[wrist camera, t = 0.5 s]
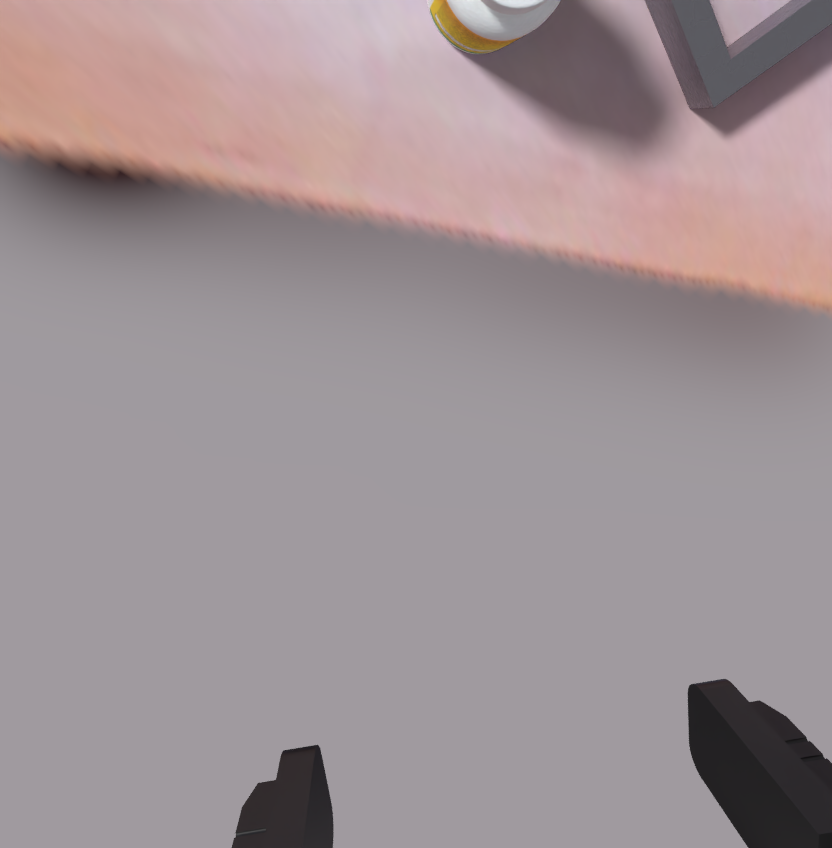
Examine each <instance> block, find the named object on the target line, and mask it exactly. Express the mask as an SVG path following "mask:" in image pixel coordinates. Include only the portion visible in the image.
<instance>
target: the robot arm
mask: <svg viewBox="0 0 832 848" xmlns="http://www.w3.org/2000/svg"><path fill="white" fill-rule="evenodd" d="M688 717H689V744H690V745H689V746H690V751H691V755H692V758H693V761H694V764H695V766H696V769H697V771H698V773H699V775H700V776H701V778H702V779H703V781H704V782H705V784H706V785H707V787H708V788H709V790H710V791H711V793H712V794H713V796H714V797H715V799H716V800H717V802H718V803H719V805H720V806H721V808H722V809H723V811H724V812H725V814H726V815H727V817H728V818H729V820H730V821H731V823H732V824H733V826H734V827H735V829H736V830H737V831H738V833H739V834H740V836H741V837H742V839H743V840H744V842H745V843H746V845H747V846H748V848H832V763H831V762H830V761H829V760H828V759H825V758H824V757H823V754H822V753H821V752H820V751H819V750H818V749H817V748H816V747H815V746H814V745H813V744H812V743H811V742H810V741H809V742H808V741H807V739H806V736H805V735H804V734H803V733H802V732H801V731H800V730H799V729H798V728H797V727H796V726H795V725H794V724H793V723H792V722H791V721H790V720H789V719H788V718H787V717H786V716H784V715H783V714H781V713H779V712H778V711H776V710H775V709H773V708H771V707H769V706H768V705H766V704H765V703H763V702H761V701H755V702H748V700H747V699H746V698H745V697H744V696H743V695H742V694H741V693H740V692H739V691H738V690H737V688H736V687H735V686H734V685H733V684H732V683H731V682H730V681H728V680H726V679H721V680H715V681H708V682H703V683H696V684H691V685H690V686H689V688H688ZM232 848H333V812H332V805H331V799H330V795H329V789H328V784H327V779H326V774H325V770H324V764H323V760H322V755H321V750H320V747H319V746H318V745H314V746H308V747H302V748H296V749H290V750H284V751H283V752H282V754H281V758H280V763H279V768H278V773H277V778H276V780H274V781H268V782H262V783H258V784H257V786H256V787H255V789H254V790H253V792H252V793H251V795H250V796H249V798H248V799H247V801H246V802H245V804H244V805H243V807H242V810H241V814H240V818H239V822H238V826H237V830H236V838H234V841H233V845H232Z"/></svg>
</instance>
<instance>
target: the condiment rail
mask: <svg viewBox="0 0 832 848" xmlns="http://www.w3.org/2000/svg"><path fill="white" fill-rule="evenodd" d="M645 1H646V4H647V6H648V9H649V11H650V13H651V16H652V18H653V21H654V23H655V25H656V28H657V30H658V33H659V35H660V37H661V40H662V42H663V45H664V47H665V50H666V52H667V54H668V57H669V59H670V62H671V64H672V66H673V69H674V71H675V74H676V76H677V78H678V81H679V83H680V86H681V88H682V91H683V93H684V95H685V98H686V100H687V103H688V105H689V107H690V109H695V108H714V107H715V106H717V105H718V104H720V103H721V102H722V101H724V100H725V99H727V98H728V97H729V96H731V95H732V94H734V93H735V92H736V91H738V90H739V89H741V88H742V87H743V86H745V85H746V84H748V83H749V82H750V81H752V80H753V79H755V78H756V77H757V76H759V75H760V74H762V73H763V72H764V71H766V70H767V69H769V68H770V67H771V66H773V65H774V64H776V63H777V62H779V61H780V60H781V59H783V58H784V57H786V56H787V55H788V54H790V53H791V52H793V51H794V50H795V49H797V48H798V47H800V46H801V45H802V44H804V43H805V42H807V41H808V40H809V39H811V38H812V37H814V36H815V35H816V34H818V33H819V32H821V31H822V30H823V29H825V28H826V27H828V26H829V25H830V24H832V0H791V1H790V2H789V3H787V4H786V5H785V6H783V7H782V8H780V9H779V10H778V11H776V12H775V13H774V14H772V15H771V16H770V17H768V18H767V19H765V20H764V21H763V22H761V23H760V24H759V25H757V26H756V27H755V28H753V29H752V30H750V31H749V32H748V33H746V34H745V35H744V36H742V37H741V38H740V39H738V40H737V41H736V42H734V43H733V44H731V45H730V46H729V47H726V44H725V42H724V39H723V36H722V34H721V31H720V28H719V25H718V23H717V20H716V17H715V15H714V12H713V9H712V7H711V4H710V1H709V0H645Z"/></svg>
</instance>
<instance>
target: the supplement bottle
mask: <svg viewBox="0 0 832 848" xmlns="http://www.w3.org/2000/svg"><path fill="white" fill-rule="evenodd" d="M560 1H561V0H427V3H428V8H429V11H430V15H431V18H432V20H433V22H434V24H435V26H436V28H437V29H438V31H439V32H440V33H441V35H442V36H443V37H444V38H445V39H446V40H447V41H448V42H449V43H450V44H451V45H453V46H454V47H456V48H458V49H459V50H462V51H464V52H467V53H471V54H486V53H491V52H494V51H496V50H499V49H501V48H503V47H505V46H507V45H509V44H510V43H512V42H514V41H516V40H518V39H519V38H521V37H523V36H525V35H527V34H528V33H530V32H532V31H533V30H535V29H536V28H538V27H539V26H540V25H541V24H542V23H543V22H545V21H546V20H547V19H548V17H549V16H550V15H551V14H552V13H553V12H554V10H555V9H556V7H557V6H558V4H559V3H560Z"/></svg>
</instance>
